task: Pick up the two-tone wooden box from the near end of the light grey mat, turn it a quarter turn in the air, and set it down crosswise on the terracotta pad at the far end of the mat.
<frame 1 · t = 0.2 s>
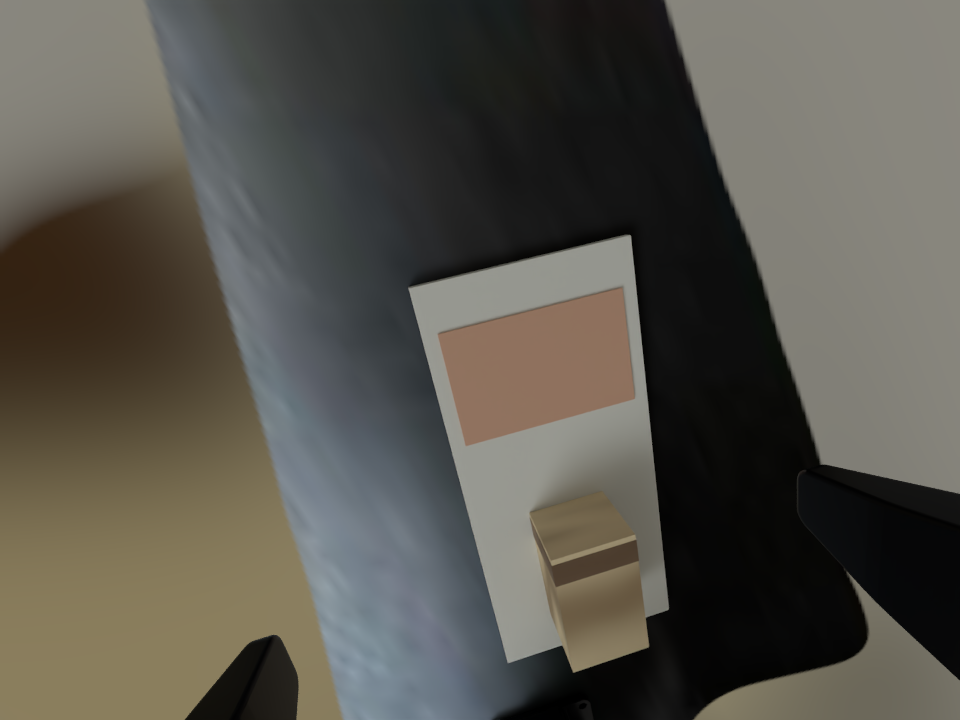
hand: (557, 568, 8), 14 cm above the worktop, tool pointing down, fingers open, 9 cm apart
two-tone wooden box: (575, 555, 25), point 1 cm above the worktop, touching grey mat
grey mat: (558, 471, 24), on the worktop
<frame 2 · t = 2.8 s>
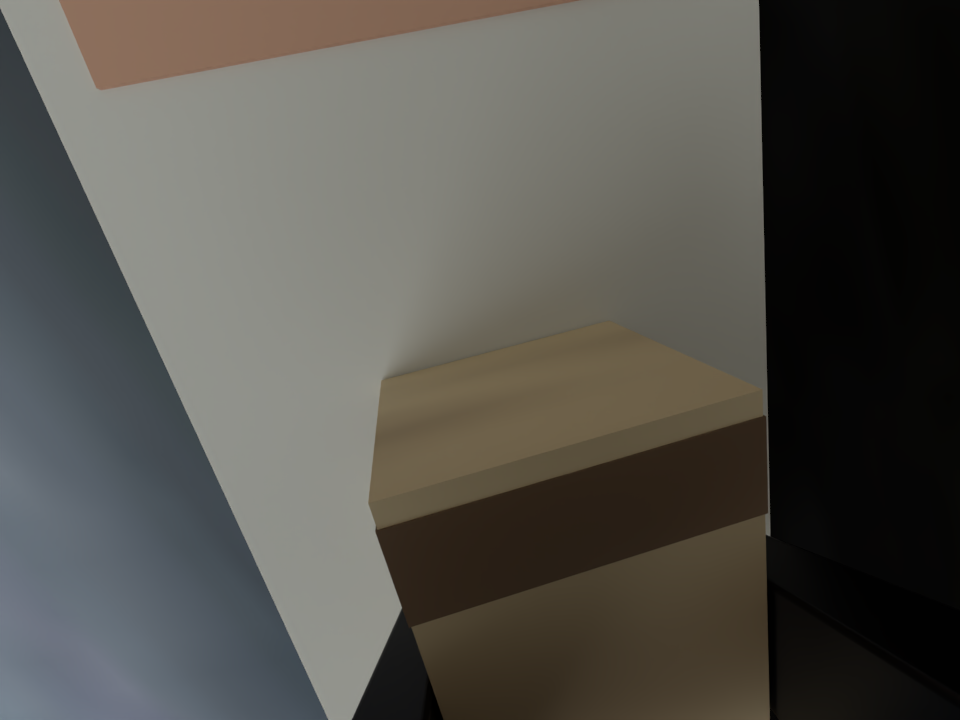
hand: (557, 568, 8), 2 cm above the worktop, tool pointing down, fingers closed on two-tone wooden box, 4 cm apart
two-tone wooden box: (534, 519, 9), point 1 cm above the worktop, touching grey mat, gripper
grey mat: (473, 258, 8), on the worktop
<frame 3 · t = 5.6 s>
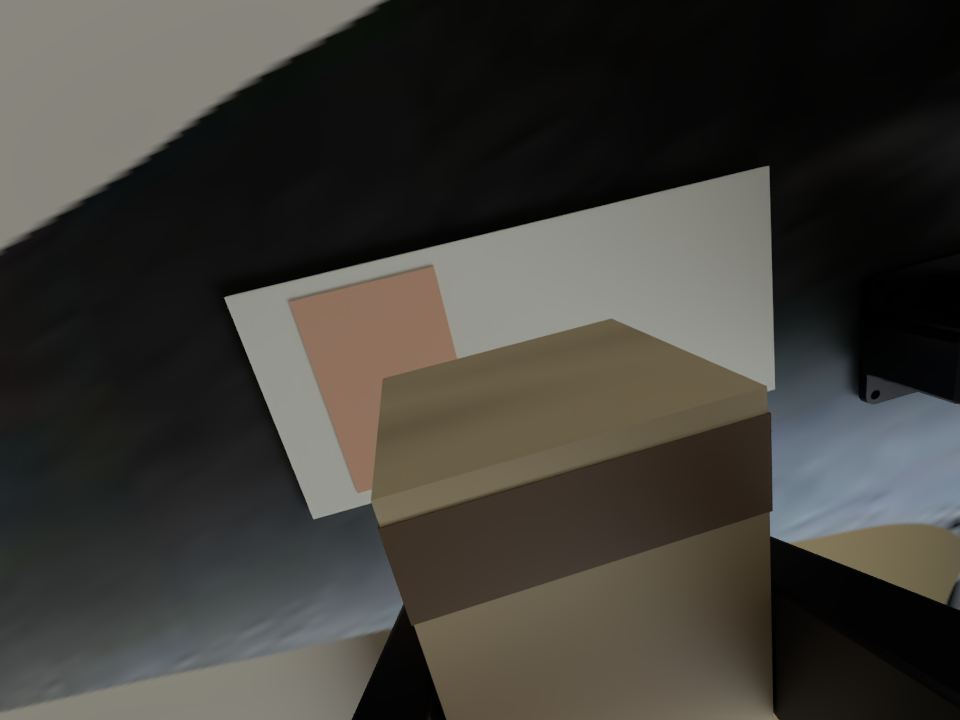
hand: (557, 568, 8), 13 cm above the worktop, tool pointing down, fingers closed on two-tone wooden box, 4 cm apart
two-tone wooden box: (536, 518, 9), point 11 cm above the worktop, touching gripper
grey mat: (530, 346, 20), on the worktop
when the fingers open (3 cm above the worktop, at t = 8.3 s): two-tone wooden box stays where it is, resting on grey mat.
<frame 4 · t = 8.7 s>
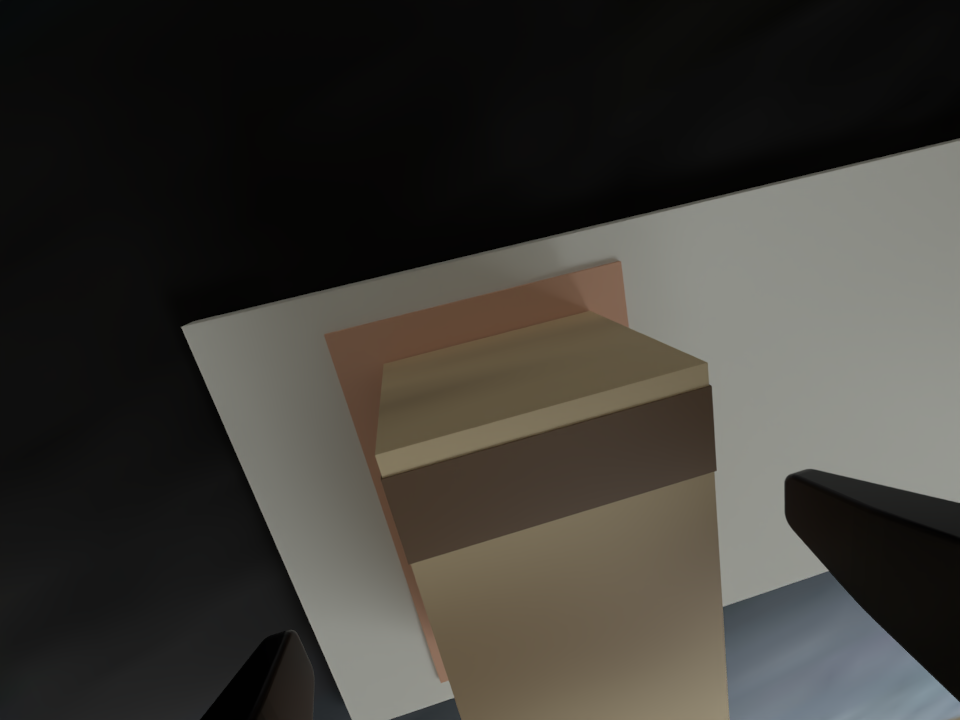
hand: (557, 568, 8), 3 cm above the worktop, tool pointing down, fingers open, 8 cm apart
two-tone wooden box: (523, 493, 10), point 1 cm above the worktop, touching grey mat
grey mat: (756, 409, 11), on the worktop
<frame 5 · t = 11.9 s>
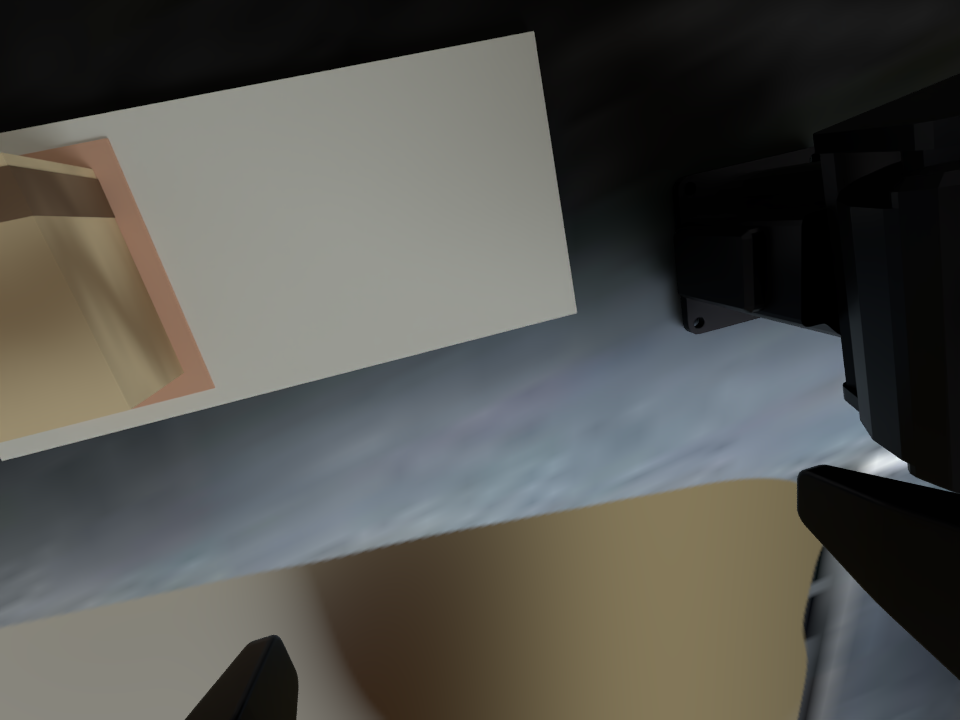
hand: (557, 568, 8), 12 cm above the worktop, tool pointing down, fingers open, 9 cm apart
two-tone wooden box: (79, 292, 15), point 1 cm above the worktop, touching grey mat
grey mat: (264, 251, 16), on the worktop
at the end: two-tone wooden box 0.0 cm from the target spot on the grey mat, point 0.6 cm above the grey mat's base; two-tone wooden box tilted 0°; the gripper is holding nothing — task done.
